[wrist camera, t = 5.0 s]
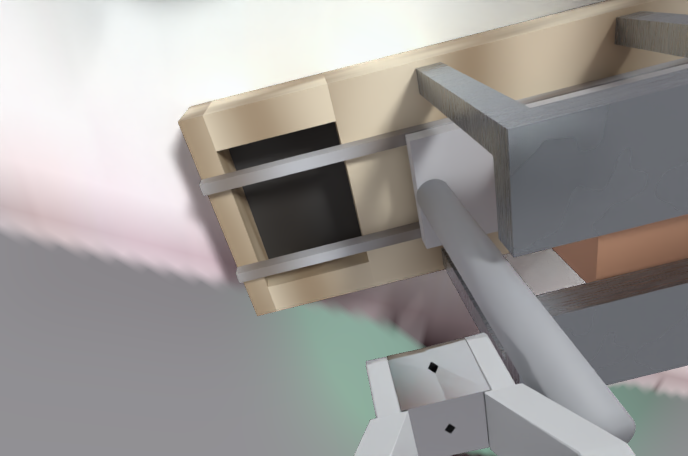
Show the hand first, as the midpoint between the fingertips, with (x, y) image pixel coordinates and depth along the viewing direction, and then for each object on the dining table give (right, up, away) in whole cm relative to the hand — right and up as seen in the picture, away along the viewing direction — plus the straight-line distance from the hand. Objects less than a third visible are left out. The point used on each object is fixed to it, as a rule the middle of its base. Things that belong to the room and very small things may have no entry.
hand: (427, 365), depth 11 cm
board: (+7, +8, +11) cm, 16 cm away
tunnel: (+6, +7, +9) cm, 13 cm away
